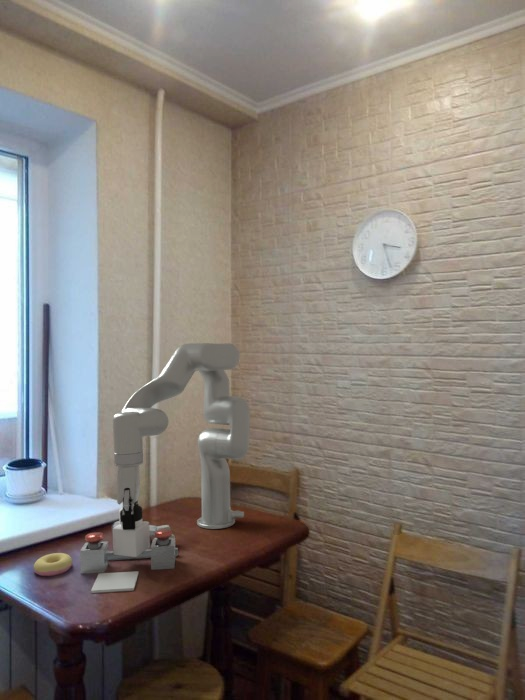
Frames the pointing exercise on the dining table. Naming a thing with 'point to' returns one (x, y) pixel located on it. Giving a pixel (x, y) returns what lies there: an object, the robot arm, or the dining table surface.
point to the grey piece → (151, 528)
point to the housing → (127, 557)
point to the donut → (52, 564)
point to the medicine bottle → (131, 536)
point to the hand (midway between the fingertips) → (131, 523)
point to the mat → (115, 582)
